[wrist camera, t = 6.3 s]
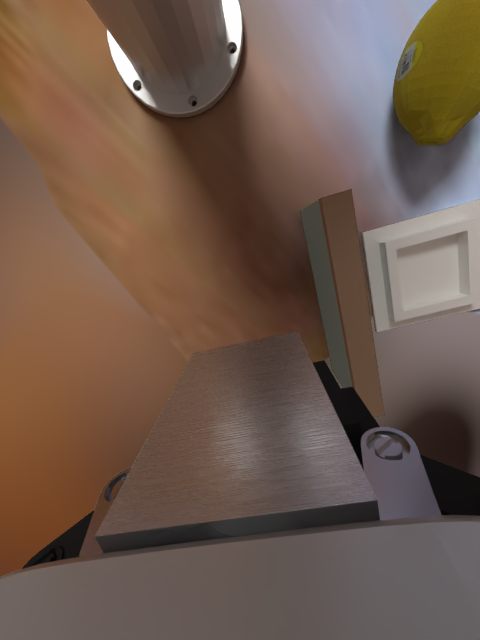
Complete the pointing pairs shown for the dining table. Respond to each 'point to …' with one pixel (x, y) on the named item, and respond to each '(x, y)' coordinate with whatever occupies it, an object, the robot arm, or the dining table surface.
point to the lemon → (440, 73)
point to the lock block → (241, 454)
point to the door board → (343, 295)
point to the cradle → (424, 267)
